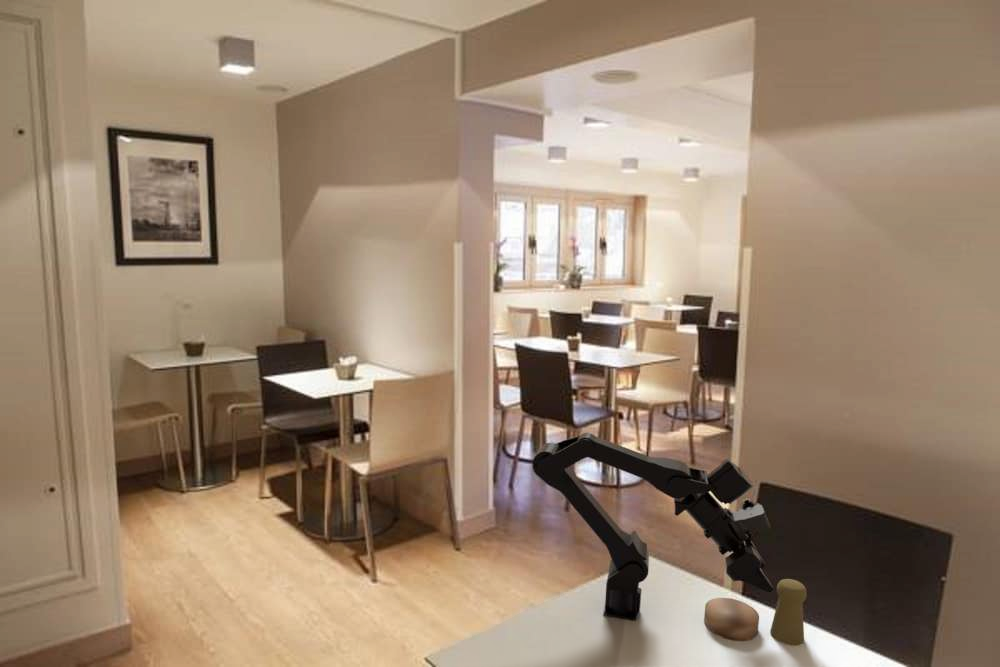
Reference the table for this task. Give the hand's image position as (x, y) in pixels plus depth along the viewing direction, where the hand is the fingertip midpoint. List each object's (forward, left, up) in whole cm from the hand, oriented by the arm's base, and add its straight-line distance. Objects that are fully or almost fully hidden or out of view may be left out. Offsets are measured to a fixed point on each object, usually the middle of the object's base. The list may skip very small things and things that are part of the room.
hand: (767, 578), depth 125 cm
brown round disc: (-6, 0, -11) cm, 13 cm away
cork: (+4, 0, -11) cm, 12 cm away
